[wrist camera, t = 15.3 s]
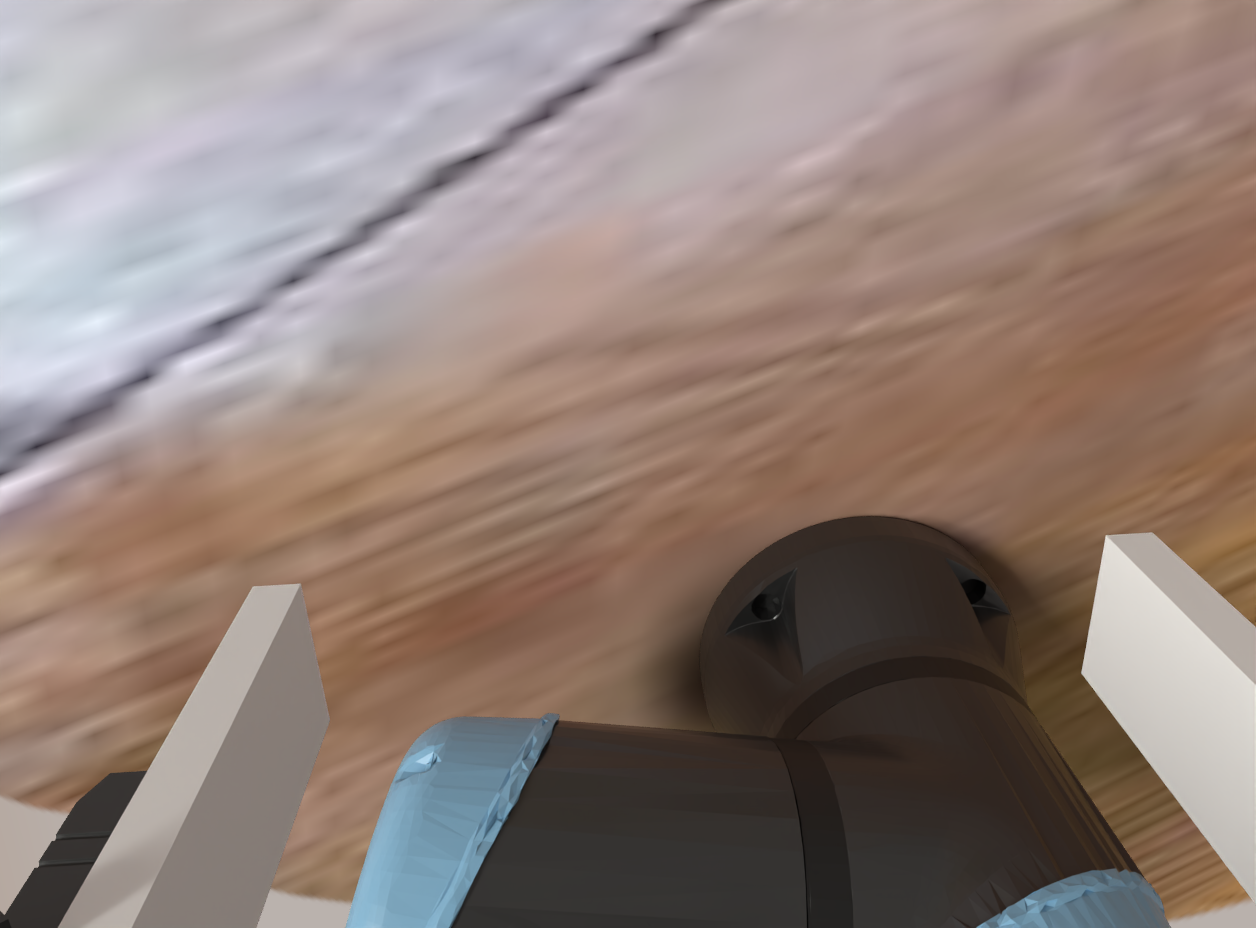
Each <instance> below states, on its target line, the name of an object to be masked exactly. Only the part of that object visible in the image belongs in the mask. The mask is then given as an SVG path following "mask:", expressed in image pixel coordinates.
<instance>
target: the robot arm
mask: <svg viewBox="0 0 1256 928" xmlns="http://www.w3.org/2000/svg"><path fill="white" fill-rule="evenodd" d="M699 665H700V675H701V681H702V686H703V692H704V697H705V703H706V707H707V711H708V714H709V717H710V719H711V722H712V724H713V727H714V729H715V731H716V733H715V732H702V731H689V730H676V729H663V728H650V727H637V726H624V725H611V724H598V723H585V722H572V721H559V717H560V716H559V714H552V713H547V714H545V715H544V716H543V717H541V718H540V719H534V718H497V717H456V718H451V719H447V720H444V721H442V722H439V723H437V724H435V725H433V726H432V727H430V728H429V729H428V730H426V731H425V732H424V733H423V734H421V735H420V736H419V737H418V738H417V740H416V741H415V742H414V743H413V744H412V746H411V748H410V749H409V751H408V752H407V754H406V755H405V757H404V758H403V760H402V762H401V764H400V766H399V768H398V770H397V773H396V775H395V777H394V780H393V782H392V784H391V787H390V789H389V792H388V795H387V797H386V800H385V803H384V805H383V808H382V811H381V814H380V817H379V819H378V822H377V825H376V828H375V831H374V834H373V837H372V840H371V843H370V846H369V849H368V852H367V856H366V859H365V862H364V865H363V869H362V872H361V875H360V878H359V881H358V885H357V888H356V892H355V895H354V899H353V902H352V906H351V909H350V913H349V917H348V920H347V924H346V927H345V928H1171V927H1170V925H1169V923H1168V921H1167V920H1166V918H1165V914H1164V908H1163V904H1162V901H1161V899H1160V897H1159V895H1158V894H1157V893H1156V892H1155V890H1154V889H1153V888H1152V887H1151V884H1150V883H1148V882H1147V881H1146V879H1145V878H1144V876H1143V875H1142V873H1141V872H1140V870H1139V869H1138V868H1137V866H1136V865H1135V863H1134V862H1133V860H1132V859H1131V857H1130V856H1129V854H1128V853H1127V851H1126V850H1125V848H1124V847H1123V845H1122V844H1121V842H1120V841H1119V840H1118V838H1117V837H1116V835H1115V834H1114V832H1113V831H1112V829H1111V828H1110V826H1109V825H1108V823H1107V822H1106V820H1105V819H1104V817H1103V816H1102V814H1101V813H1100V812H1099V810H1098V809H1097V807H1096V806H1095V804H1094V803H1093V801H1092V800H1091V798H1090V797H1089V795H1088V794H1087V792H1086V791H1085V789H1084V788H1083V786H1082V785H1081V784H1080V782H1079V781H1078V779H1077V778H1076V776H1075V775H1074V773H1073V772H1072V770H1071V769H1070V767H1069V766H1068V764H1067V763H1066V761H1065V760H1064V758H1063V757H1062V756H1061V754H1060V753H1059V751H1058V750H1057V748H1056V747H1055V745H1054V744H1053V742H1052V741H1051V739H1050V738H1049V736H1048V735H1047V733H1046V732H1045V730H1044V729H1043V728H1042V726H1041V725H1040V723H1039V722H1038V720H1037V719H1036V717H1035V716H1034V714H1033V713H1032V711H1031V710H1030V708H1029V706H1028V704H1027V697H1026V690H1025V682H1024V675H1023V667H1022V660H1021V652H1020V645H1019V638H1018V633H1017V628H1016V625H1015V622H1014V619H1013V616H1012V614H1011V611H1010V609H1009V606H1008V604H1007V602H1006V601H1005V599H1004V597H1003V595H1002V594H1001V592H1000V591H999V589H998V588H997V586H996V585H995V583H994V582H993V581H992V579H991V578H990V577H989V575H988V574H987V572H986V571H985V570H984V568H983V567H982V566H981V564H980V563H979V562H978V561H977V560H976V559H975V558H974V557H973V556H972V554H971V553H969V552H968V551H967V550H966V549H965V548H964V547H962V546H961V545H960V544H958V543H957V542H956V541H954V540H953V539H951V538H949V537H948V536H946V535H944V534H942V533H940V532H938V531H936V530H934V529H931V528H929V527H927V526H924V525H920V524H917V523H914V522H910V521H906V520H901V519H895V518H886V517H854V518H844V519H839V520H833V521H829V522H824V523H820V524H817V525H814V526H811V527H808V528H805V529H802V530H800V531H797V532H795V533H793V534H791V535H788V536H786V537H784V538H783V539H781V540H779V541H777V542H775V543H774V544H772V545H770V546H769V547H767V548H766V549H764V550H763V551H761V552H760V553H759V554H757V555H756V556H755V557H754V558H752V559H751V560H750V561H749V562H747V563H746V564H745V565H744V566H743V567H742V568H741V569H740V570H739V571H738V572H737V573H736V574H735V575H734V576H733V578H732V579H731V580H730V581H729V582H728V584H727V585H726V586H725V588H724V589H723V590H722V592H721V593H720V595H719V596H718V598H717V600H716V602H715V603H714V605H713V607H712V609H711V611H710V613H709V616H708V618H707V621H706V624H705V627H704V630H703V634H702V639H701V644H700V654H699ZM1081 673H1082V675H1083V676H1084V677H1085V679H1086V680H1087V681H1088V683H1089V684H1090V685H1091V687H1092V688H1093V689H1094V691H1095V692H1096V693H1097V695H1098V696H1099V697H1100V699H1101V700H1102V701H1103V703H1104V704H1105V705H1106V707H1107V708H1108V709H1109V711H1110V712H1111V713H1112V715H1113V716H1114V717H1115V719H1116V720H1117V721H1118V723H1119V724H1120V725H1121V726H1122V728H1123V729H1124V730H1125V732H1126V733H1127V734H1128V736H1129V737H1130V738H1131V740H1132V741H1133V742H1134V744H1135V745H1136V746H1137V748H1138V749H1139V750H1140V752H1141V753H1142V754H1143V756H1144V757H1145V758H1146V760H1147V761H1148V762H1149V764H1150V765H1151V766H1152V768H1153V769H1154V770H1155V772H1156V773H1157V774H1158V776H1159V777H1160V778H1161V780H1162V781H1163V782H1164V784H1165V785H1166V786H1167V787H1168V789H1169V790H1170V791H1171V793H1172V794H1173V795H1174V797H1175V798H1176V799H1177V801H1178V802H1179V803H1180V805H1181V806H1182V807H1183V809H1184V810H1185V811H1186V813H1187V814H1188V815H1189V817H1190V818H1191V819H1192V821H1193V822H1194V823H1195V825H1196V826H1197V827H1198V829H1199V830H1200V831H1201V833H1202V834H1203V835H1204V837H1205V838H1206V839H1207V841H1208V842H1209V843H1210V845H1211V846H1212V847H1213V849H1214V850H1215V851H1216V852H1217V854H1218V855H1219V856H1220V858H1221V859H1222V860H1223V862H1224V863H1225V864H1226V866H1227V867H1228V868H1229V870H1230V871H1231V872H1232V874H1233V875H1234V876H1235V878H1236V879H1237V880H1238V882H1239V883H1240V884H1241V886H1242V887H1243V888H1244V890H1245V891H1246V892H1247V894H1248V895H1249V896H1250V898H1251V899H1252V900H1253V902H1254V903H1255V904H1256V627H1255V626H1254V625H1253V624H1252V623H1251V622H1250V621H1248V620H1247V619H1246V618H1245V617H1244V616H1243V615H1242V614H1241V613H1240V612H1239V611H1238V610H1236V609H1235V608H1234V607H1233V606H1232V605H1231V604H1230V603H1229V602H1228V601H1227V600H1226V599H1224V598H1223V597H1222V596H1221V595H1220V594H1219V593H1218V592H1217V591H1216V590H1215V589H1214V588H1212V587H1211V586H1210V585H1209V584H1208V583H1207V582H1206V581H1205V580H1204V579H1203V578H1201V577H1200V576H1199V575H1198V574H1197V573H1196V572H1195V571H1194V570H1193V569H1192V568H1191V567H1189V566H1188V565H1187V564H1186V563H1185V562H1184V561H1183V560H1182V559H1181V558H1180V557H1179V556H1177V555H1176V554H1175V553H1174V552H1173V551H1172V550H1171V549H1170V548H1169V547H1168V546H1166V545H1165V544H1164V543H1163V542H1162V541H1161V540H1160V539H1159V538H1158V537H1157V536H1156V535H1154V534H1153V533H1135V534H1119V535H1106V538H1105V544H1104V549H1103V555H1102V561H1101V566H1100V572H1099V577H1098V583H1097V589H1096V594H1095V600H1094V605H1093V611H1092V616H1091V622H1090V628H1089V633H1088V639H1087V644H1086V650H1085V655H1084V661H1083V667H1082V672H1081ZM329 722H330V718H329V714H328V709H327V704H326V700H325V695H324V690H323V686H322V681H321V676H320V671H319V667H318V662H317V657H316V653H315V648H314V643H313V639H312V634H311V629H310V625H309V620H308V615H307V610H306V606H305V601H304V596H303V592H302V587H301V584H287V585H271V586H254V587H252V589H251V591H250V593H249V594H248V596H247V598H246V600H245V601H244V603H243V605H242V607H241V608H240V610H239V612H238V614H237V615H236V617H235V619H234V621H233V622H232V624H231V626H230V628H229V629H228V631H227V633H226V635H225V636H224V638H223V640H222V642H221V643H220V645H219V647H218V649H217V650H216V652H215V654H214V656H213V657H212V659H211V661H210V663H209V664H208V666H207V668H206V670H205V671H204V673H203V675H202V677H201V678H200V680H199V682H198V684H197V685H196V687H195V689H194V691H193V692H192V694H191V696H190V698H189V699H188V701H187V703H186V705H185V706H184V708H183V710H182V712H181V713H180V715H179V717H178V718H177V720H176V722H175V724H174V725H173V727H172V729H171V731H170V732H169V734H168V736H167V738H166V739H165V741H164V743H163V745H162V746H161V748H160V750H159V752H158V753H157V755H156V757H155V759H154V760H153V762H152V764H151V766H150V767H149V769H148V771H139V772H123V773H110V774H109V775H108V776H106V777H105V778H104V779H103V780H102V781H101V782H100V783H98V784H97V785H96V786H95V787H94V788H93V789H91V790H90V791H89V792H88V793H87V794H86V795H85V796H83V797H82V798H81V799H80V800H79V801H78V802H77V803H76V804H75V806H74V807H73V809H72V810H71V812H70V814H69V815H68V817H67V818H66V820H65V821H64V823H63V824H62V826H61V828H60V829H59V831H58V833H57V834H56V840H55V841H52V842H51V843H50V845H49V847H48V848H47V850H46V851H45V853H44V854H43V856H42V857H41V859H40V861H39V867H38V868H34V870H33V871H32V873H31V875H30V876H29V878H28V879H27V881H26V882H25V884H24V885H23V887H22V889H21V890H20V892H19V894H18V895H17V896H16V898H15V900H14V901H13V903H12V904H11V906H10V907H9V909H8V911H7V912H6V914H5V915H4V914H3V913H2V912H1V911H0V928H256V927H257V924H258V921H259V918H260V916H261V913H262V910H263V907H264V904H265V902H266V898H267V896H268V893H269V890H270V888H271V885H272V882H273V879H274V876H275V874H276V871H277V868H278V865H279V862H280V859H281V857H282V854H283V851H284V848H285V845H286V843H287V840H288V837H289V834H290V831H291V829H292V826H293V823H294V820H295V817H296V814H297V812H298V809H299V806H300V803H301V800H302V798H303V795H304V792H305V789H306V786H307V784H308V781H309V778H310V775H311V772H312V769H313V767H314V764H315V761H316V758H317V755H318V753H319V750H320V747H321V744H322V741H323V739H324V736H325V733H326V730H327V727H328V725H329Z"/></svg>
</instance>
